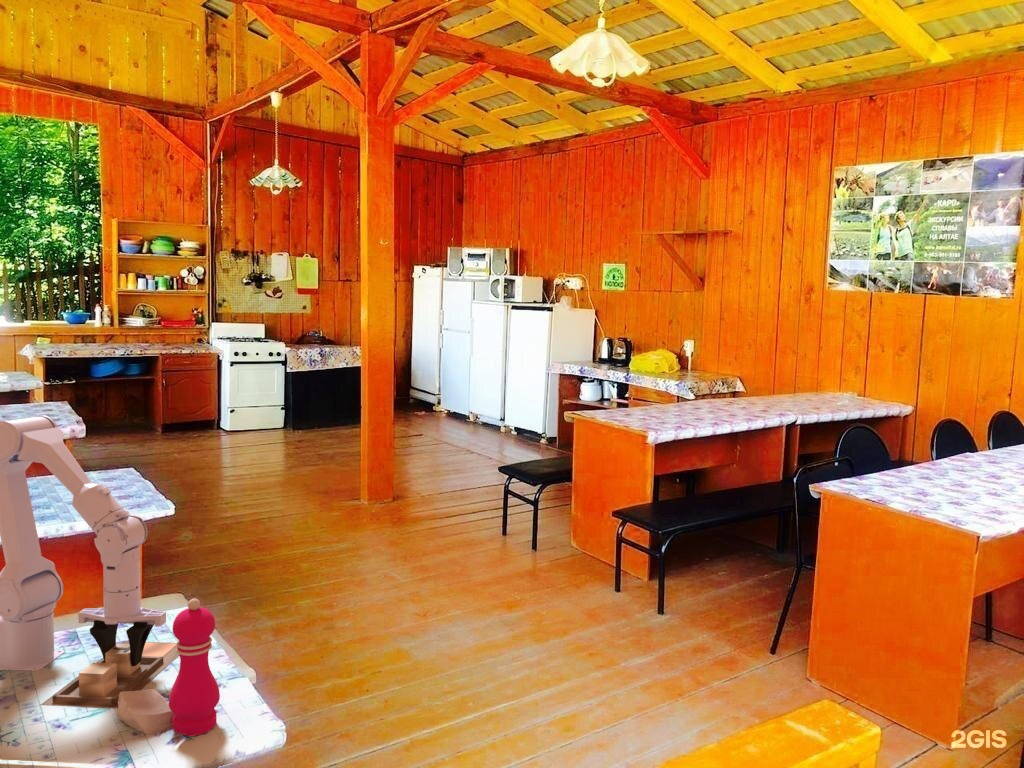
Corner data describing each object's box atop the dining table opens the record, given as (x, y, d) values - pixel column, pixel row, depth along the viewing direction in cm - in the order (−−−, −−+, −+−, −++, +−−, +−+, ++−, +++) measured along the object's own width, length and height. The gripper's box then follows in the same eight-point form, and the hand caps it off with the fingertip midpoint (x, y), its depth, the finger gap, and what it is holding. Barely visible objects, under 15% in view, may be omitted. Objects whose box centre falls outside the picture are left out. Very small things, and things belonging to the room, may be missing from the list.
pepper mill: (170, 742, 114) (168, 610, 112) (167, 719, 120) (166, 594, 119) (222, 732, 117) (221, 603, 115) (217, 710, 123) (216, 588, 122)
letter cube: (105, 675, 133) (105, 652, 133) (118, 665, 137) (117, 643, 137) (128, 676, 133) (128, 653, 133) (140, 666, 137) (140, 644, 137)
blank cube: (79, 696, 126) (78, 673, 125) (93, 685, 130) (93, 662, 129) (103, 697, 125) (103, 674, 125) (116, 686, 129) (116, 663, 129)
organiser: (40, 707, 123) (40, 698, 123) (124, 643, 148) (124, 635, 148) (120, 711, 122) (120, 702, 122) (191, 646, 147) (191, 638, 147)
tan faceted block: (167, 750, 118) (182, 718, 118) (125, 754, 114) (140, 720, 113) (149, 707, 125) (163, 676, 125) (108, 709, 121) (122, 677, 120)
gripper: (67, 593, 130) (68, 671, 131) (151, 596, 130) (152, 675, 131) (91, 579, 137) (92, 654, 138) (171, 583, 137) (172, 657, 138)
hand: (123, 663), depth 135 cm, fingers closed on letter cube, 4 cm apart
